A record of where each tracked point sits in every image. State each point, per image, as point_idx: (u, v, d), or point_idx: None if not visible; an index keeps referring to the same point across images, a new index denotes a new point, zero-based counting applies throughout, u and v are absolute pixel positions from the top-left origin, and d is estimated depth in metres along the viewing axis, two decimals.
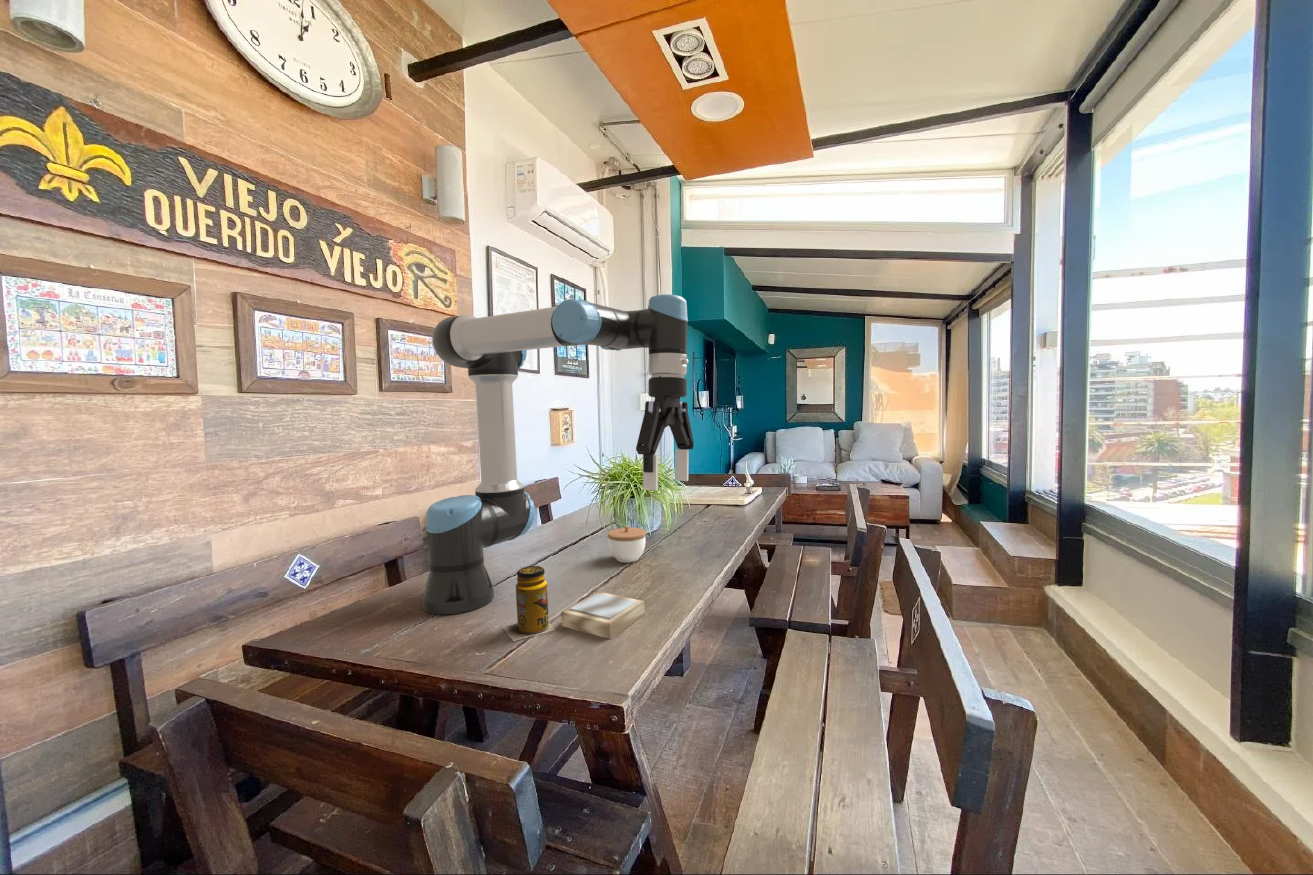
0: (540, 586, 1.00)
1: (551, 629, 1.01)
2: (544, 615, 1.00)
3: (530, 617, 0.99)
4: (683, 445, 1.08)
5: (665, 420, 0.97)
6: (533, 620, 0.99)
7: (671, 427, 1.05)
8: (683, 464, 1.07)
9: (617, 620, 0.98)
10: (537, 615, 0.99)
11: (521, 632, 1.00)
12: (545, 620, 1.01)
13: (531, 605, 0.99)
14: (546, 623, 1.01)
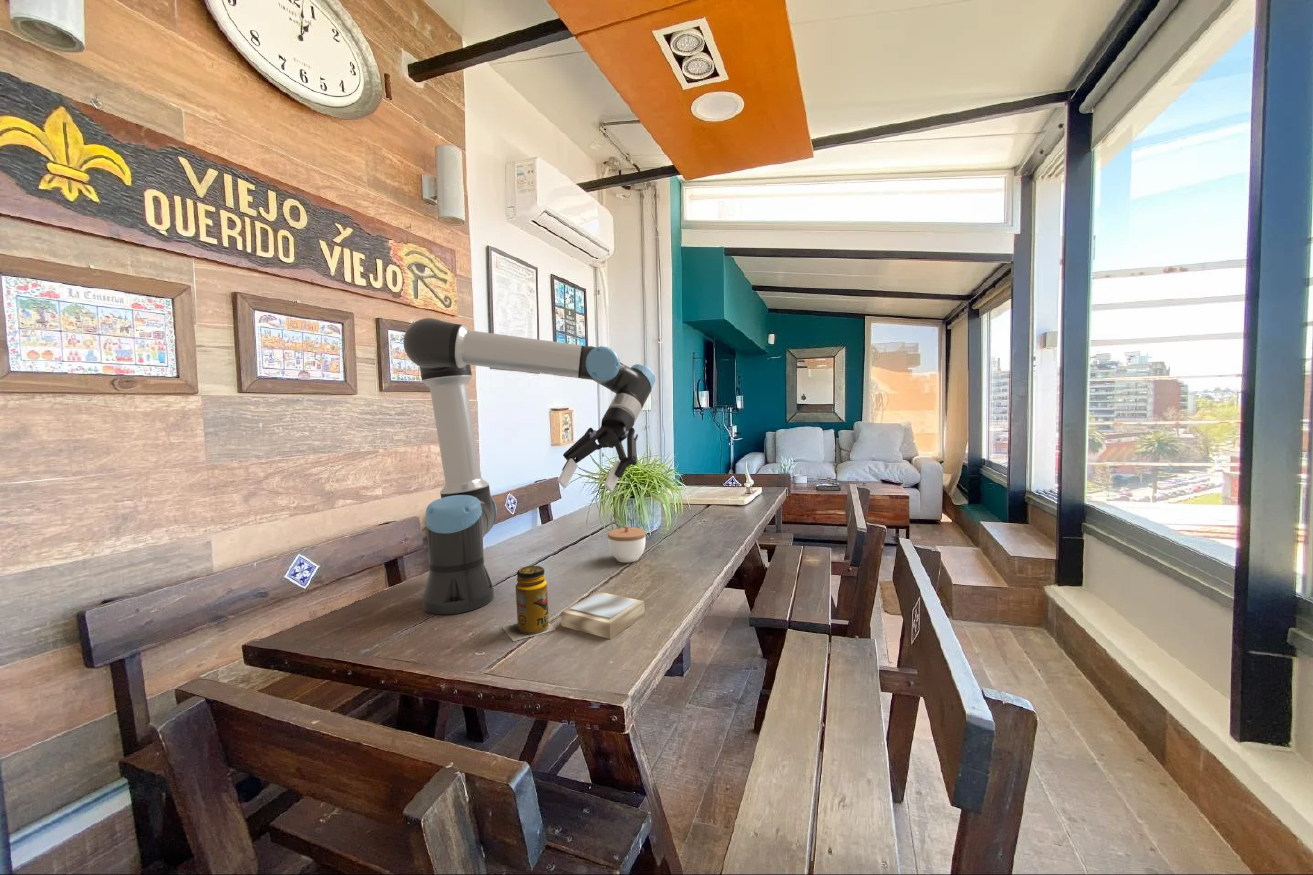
0: (540, 586, 1.00)
1: (551, 629, 1.01)
2: (544, 615, 1.00)
3: (530, 617, 0.99)
4: (574, 459, 1.23)
5: (622, 446, 1.22)
6: (533, 620, 0.99)
7: (591, 444, 1.23)
8: (570, 473, 1.21)
9: (617, 620, 0.98)
10: (537, 615, 0.99)
11: (521, 632, 1.00)
12: (545, 620, 1.01)
13: (531, 605, 0.99)
14: (546, 623, 1.01)
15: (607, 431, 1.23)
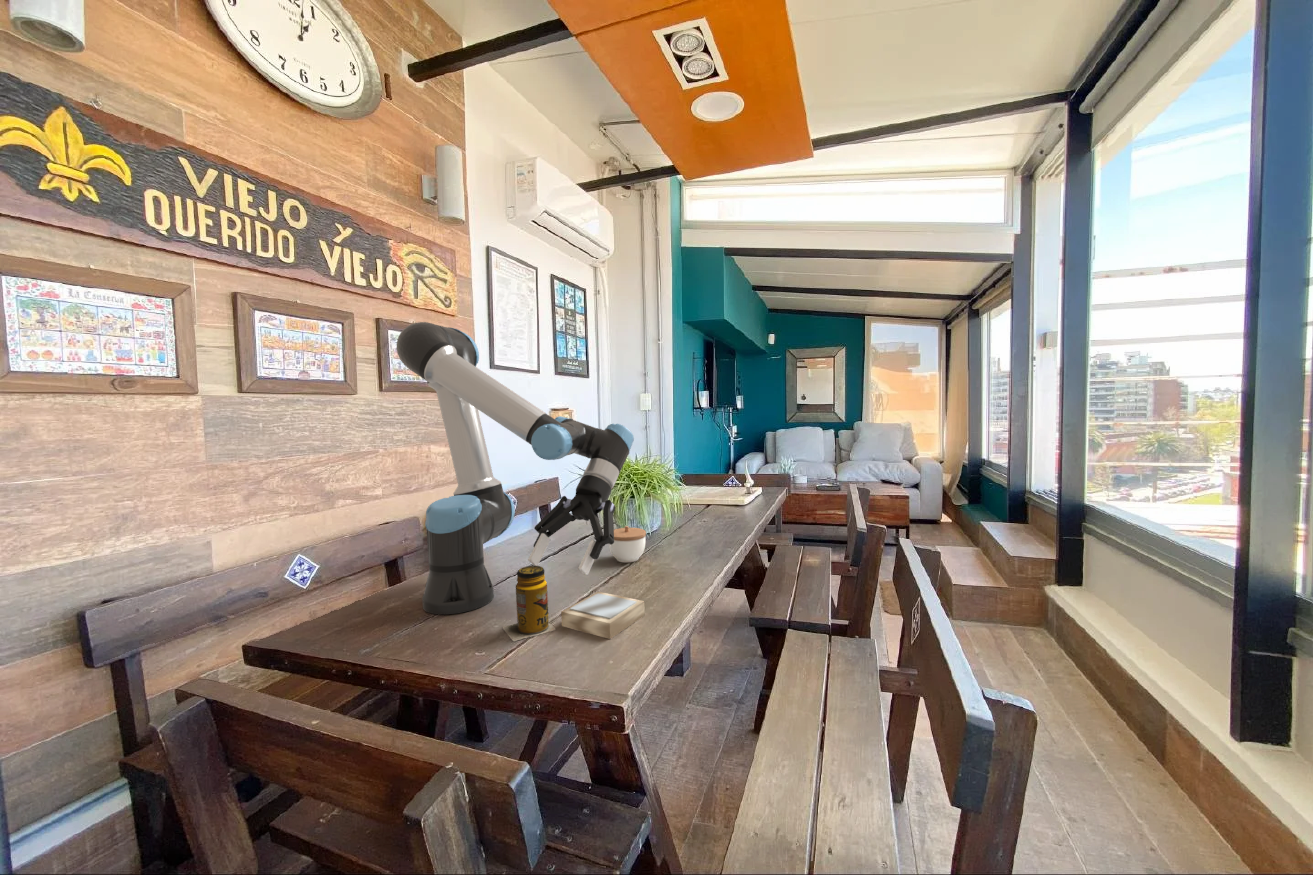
0: (540, 586, 1.00)
1: (551, 629, 1.01)
2: (544, 615, 1.00)
3: (530, 617, 0.99)
4: (546, 533, 1.14)
5: (598, 519, 1.12)
6: (533, 620, 0.99)
7: (564, 517, 1.13)
8: (542, 550, 1.12)
9: (617, 620, 0.98)
10: (537, 615, 0.99)
11: (521, 632, 1.00)
12: (545, 620, 1.01)
13: (531, 605, 0.99)
14: (546, 623, 1.01)
15: (582, 502, 1.14)
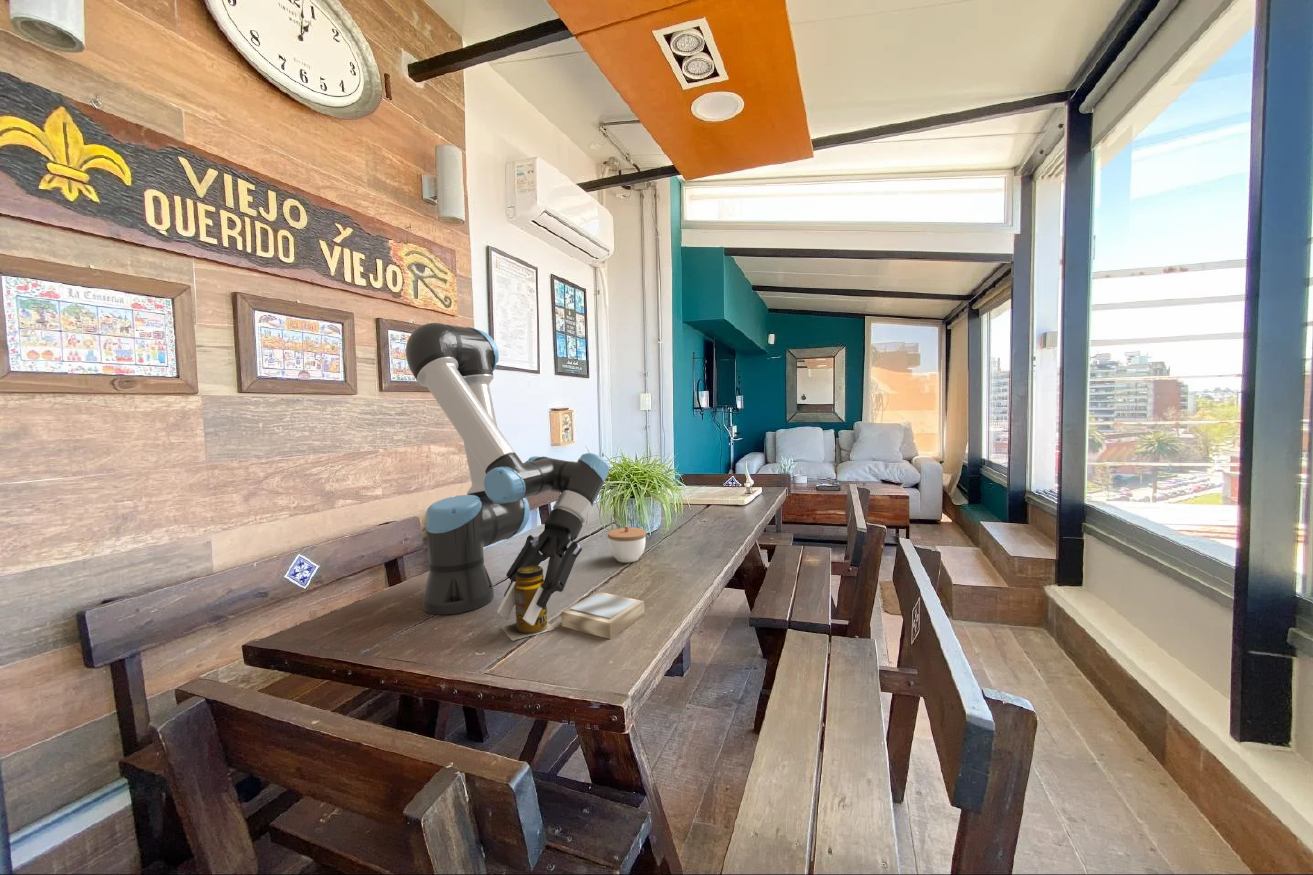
0: (538, 586, 1.00)
1: (550, 628, 1.01)
2: (542, 614, 1.01)
3: None
4: None
5: (562, 559, 1.06)
6: None
7: (535, 557, 1.06)
8: (513, 600, 1.02)
9: (617, 620, 0.98)
10: None
11: (520, 632, 1.00)
12: (544, 620, 1.01)
13: None
14: (545, 622, 1.01)
15: (552, 533, 1.08)
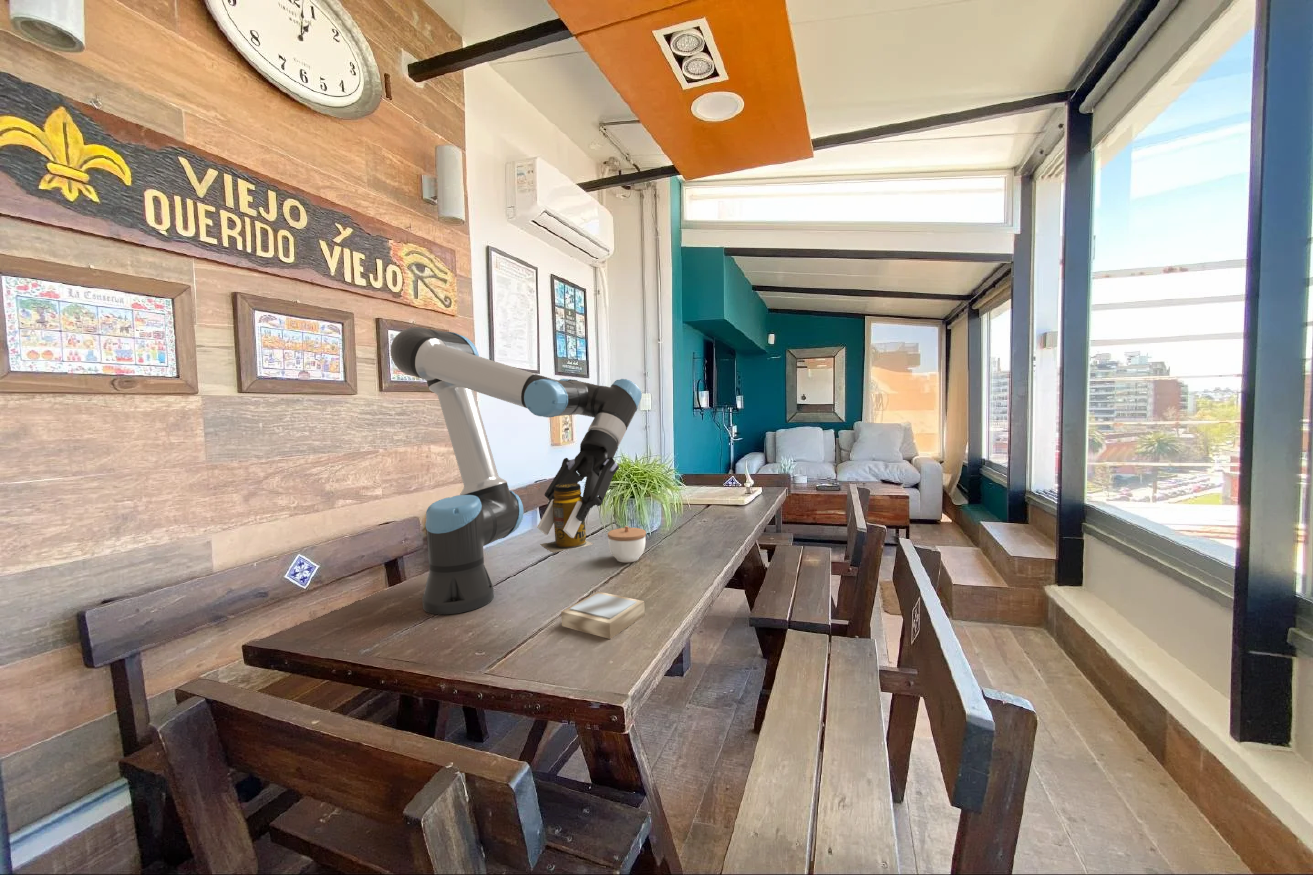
0: (577, 500, 1.00)
1: (589, 544, 1.01)
2: (581, 529, 1.00)
3: None
4: None
5: (599, 478, 1.05)
6: None
7: (572, 476, 1.06)
8: (553, 517, 1.02)
9: (617, 620, 0.98)
10: None
11: (560, 547, 1.00)
12: (583, 535, 1.01)
13: None
14: (584, 538, 1.01)
15: (588, 454, 1.08)
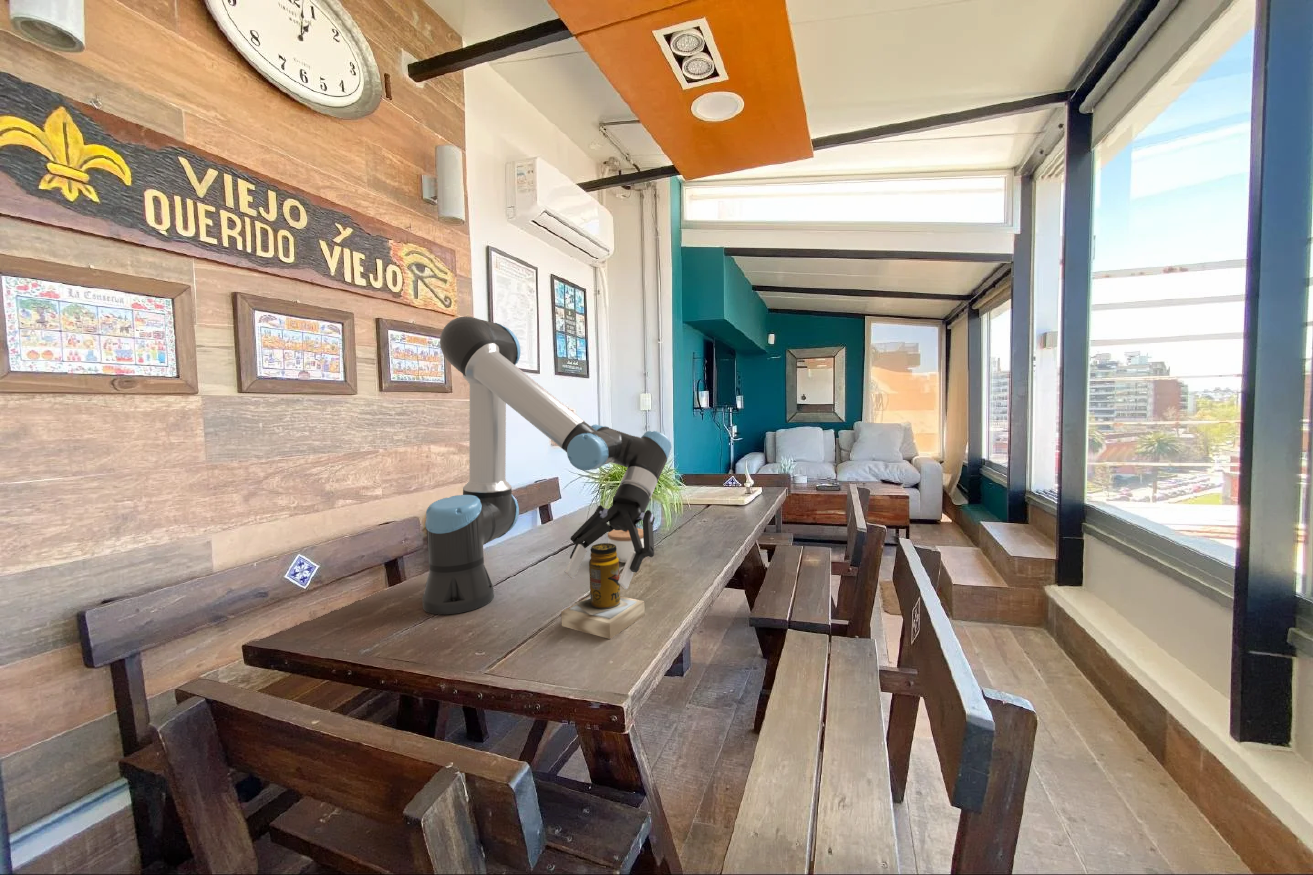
0: (614, 562, 1.02)
1: (623, 604, 1.04)
2: (617, 590, 1.03)
3: (605, 592, 1.02)
4: (583, 544, 1.10)
5: (637, 530, 1.08)
6: (608, 595, 1.02)
7: (602, 527, 1.09)
8: (579, 561, 1.07)
9: (617, 620, 0.98)
10: (612, 590, 1.02)
11: (595, 607, 1.02)
12: (618, 596, 1.04)
13: (606, 581, 1.02)
14: (619, 598, 1.04)
15: (620, 511, 1.10)
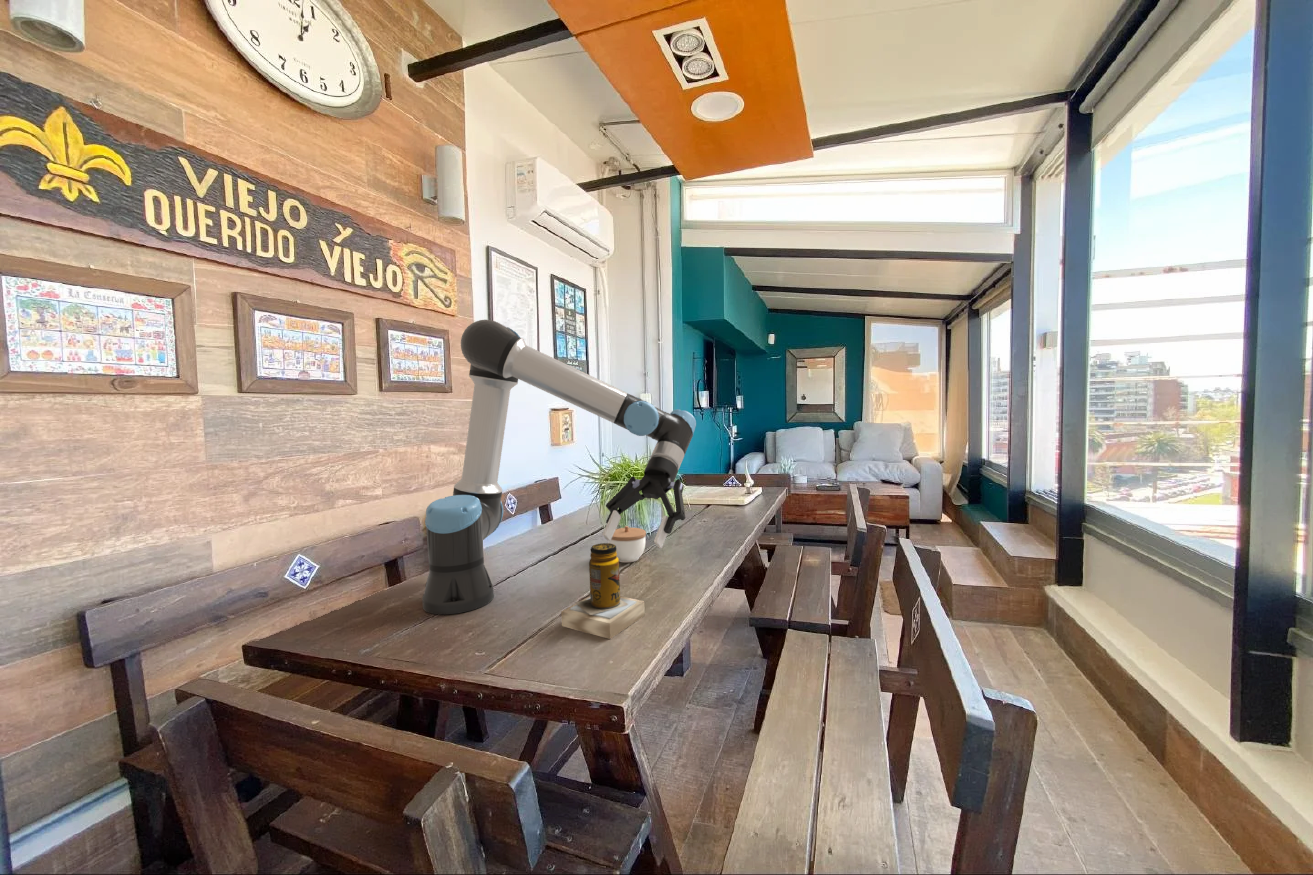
0: (614, 562, 1.02)
1: (623, 604, 1.04)
2: (617, 590, 1.03)
3: (605, 592, 1.02)
4: (617, 510, 1.21)
5: None
6: (608, 595, 1.02)
7: (635, 495, 1.20)
8: (614, 526, 1.18)
9: (617, 620, 0.98)
10: (612, 590, 1.02)
11: (595, 607, 1.02)
12: (618, 596, 1.04)
13: (606, 581, 1.02)
14: (619, 598, 1.04)
15: (651, 481, 1.21)
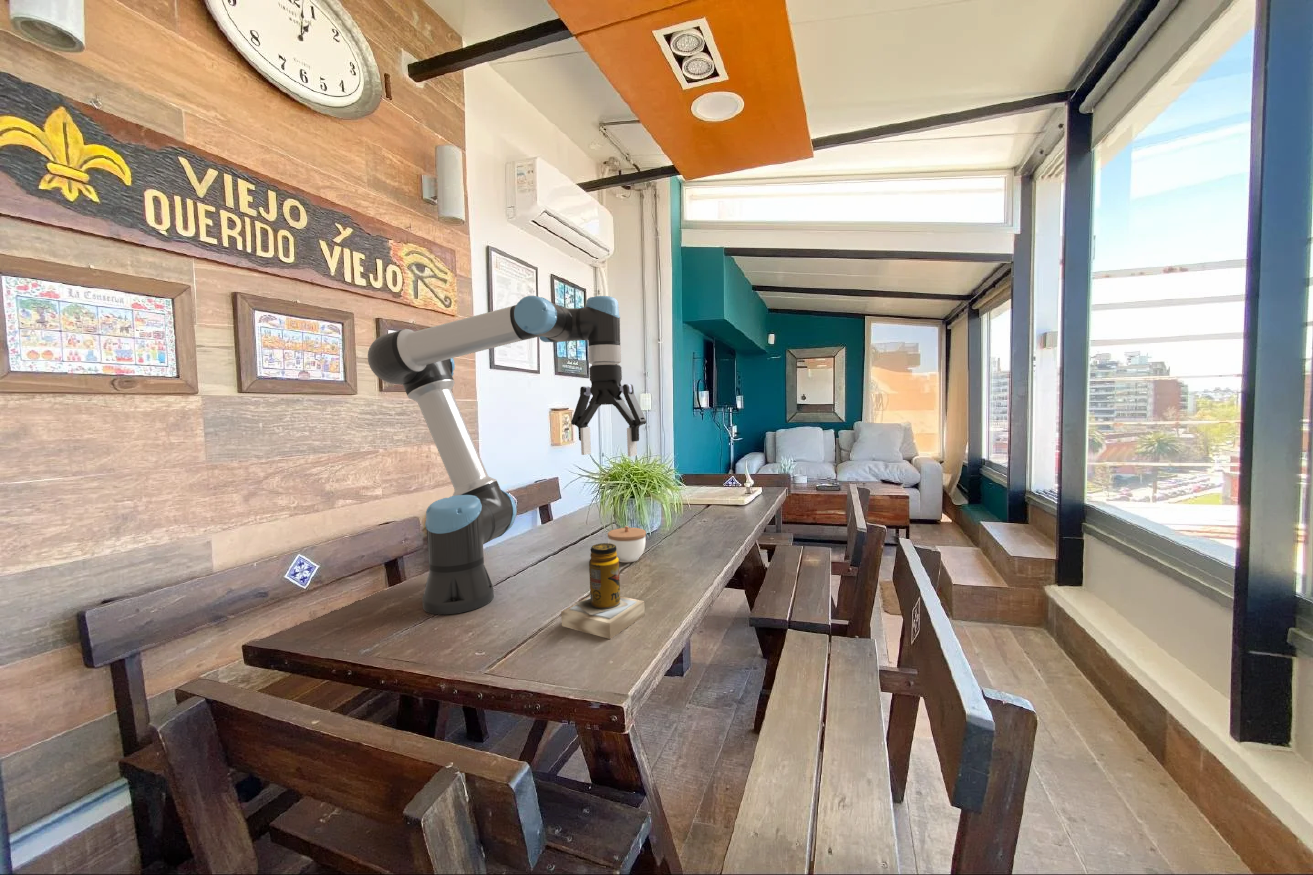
0: (614, 562, 1.02)
1: (623, 604, 1.04)
2: (617, 590, 1.03)
3: (605, 592, 1.02)
4: (584, 424, 1.25)
5: (623, 400, 1.20)
6: (608, 595, 1.02)
7: (592, 408, 1.22)
8: (588, 440, 1.26)
9: (617, 620, 0.98)
10: (612, 590, 1.02)
11: (595, 607, 1.02)
12: (618, 596, 1.04)
13: (606, 581, 1.02)
14: (619, 598, 1.04)
15: (601, 390, 1.20)
